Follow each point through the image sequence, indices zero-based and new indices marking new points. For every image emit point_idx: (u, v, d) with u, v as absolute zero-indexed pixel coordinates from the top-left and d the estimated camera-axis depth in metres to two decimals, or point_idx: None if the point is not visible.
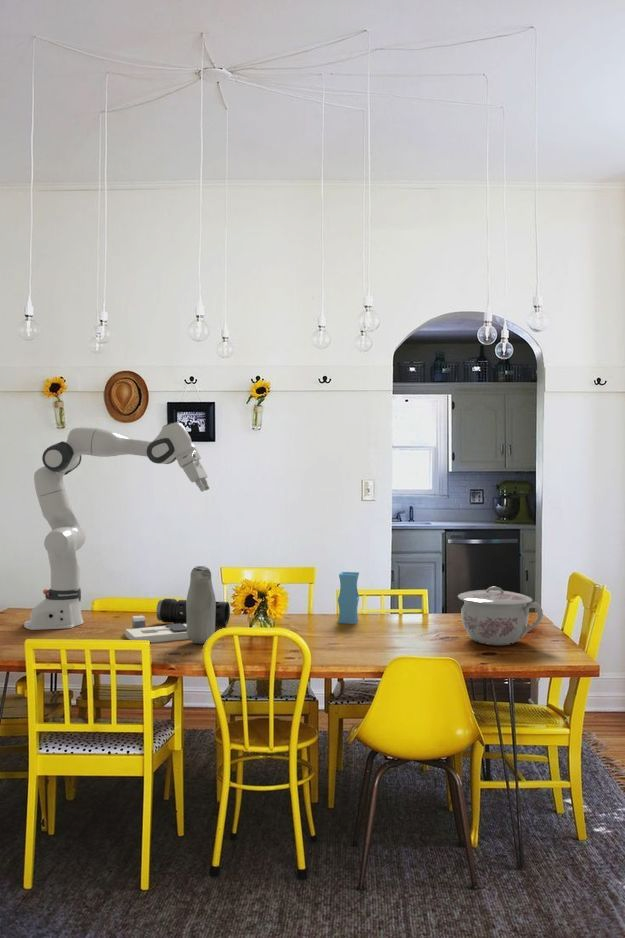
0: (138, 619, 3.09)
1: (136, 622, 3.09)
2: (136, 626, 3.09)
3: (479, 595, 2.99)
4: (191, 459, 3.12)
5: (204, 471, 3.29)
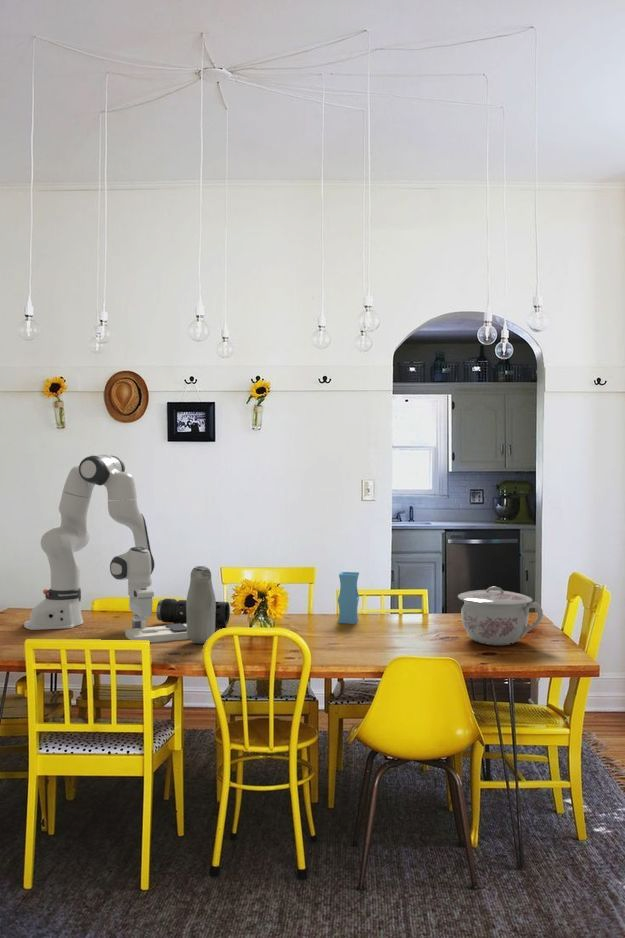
0: (138, 619, 3.09)
1: (136, 622, 3.09)
2: (136, 626, 3.09)
3: (479, 595, 2.99)
4: (151, 595, 3.04)
5: None
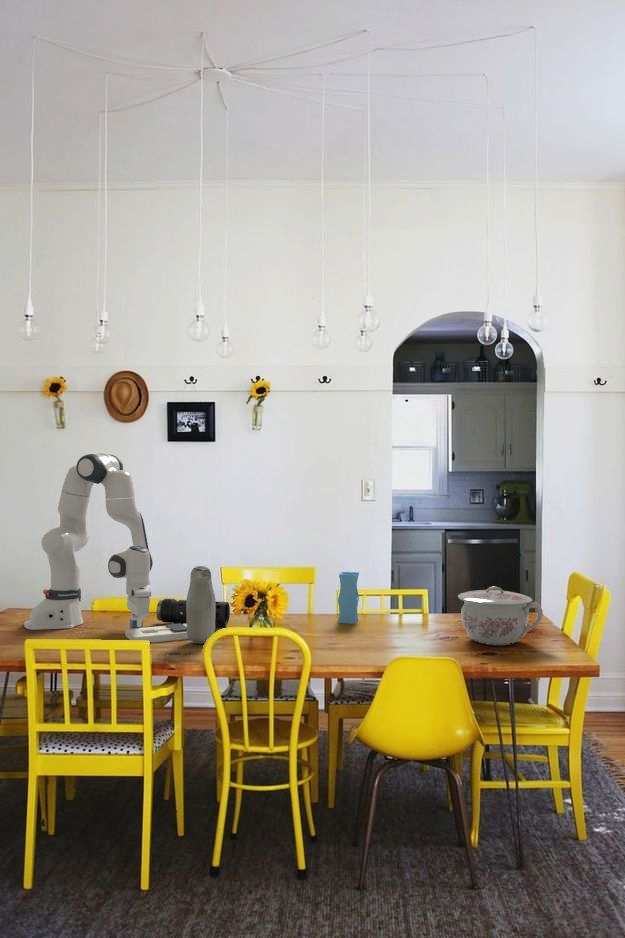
0: (136, 618, 3.08)
1: (133, 621, 3.08)
2: (133, 625, 3.08)
3: (479, 595, 2.99)
4: (149, 595, 3.04)
5: None
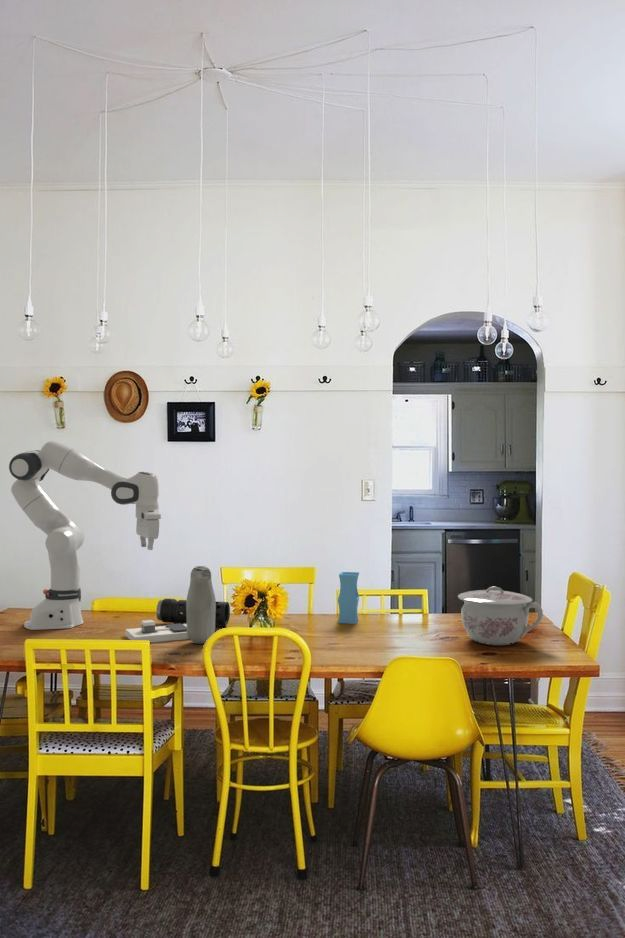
0: (148, 624, 2.99)
1: (146, 627, 2.99)
2: (146, 631, 2.99)
3: (479, 595, 2.99)
4: (158, 517, 3.13)
5: None
